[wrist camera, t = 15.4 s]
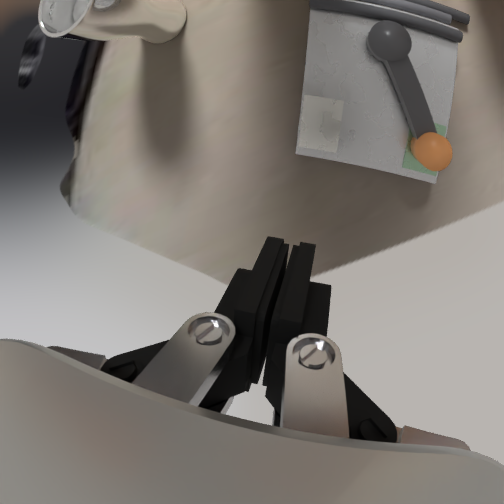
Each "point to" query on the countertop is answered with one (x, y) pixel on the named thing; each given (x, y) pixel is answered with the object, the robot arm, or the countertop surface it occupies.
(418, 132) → the breaker lever
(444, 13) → the cord bundle
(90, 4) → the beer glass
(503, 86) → the countertop surface
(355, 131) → the panel
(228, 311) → the robot arm
